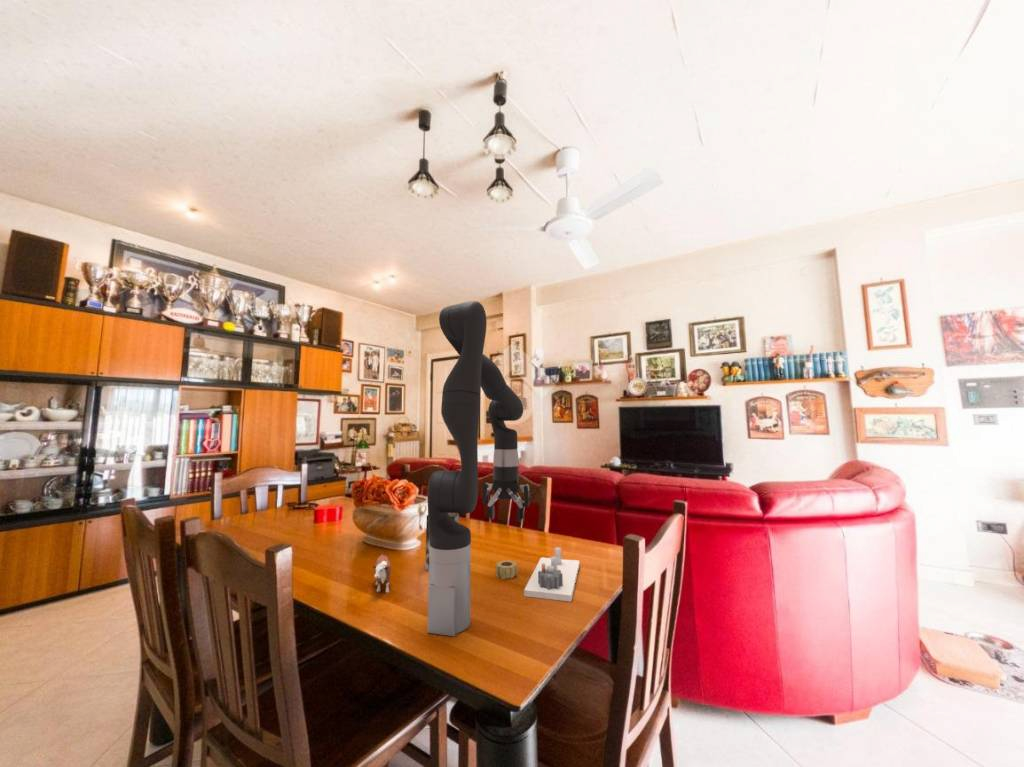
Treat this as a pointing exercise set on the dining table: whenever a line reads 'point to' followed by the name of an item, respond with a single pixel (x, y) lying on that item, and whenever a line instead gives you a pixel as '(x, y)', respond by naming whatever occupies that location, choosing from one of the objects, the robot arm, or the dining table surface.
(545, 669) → the dining table surface
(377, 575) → the bull figurine
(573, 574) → the gear board
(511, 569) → the brass gear
